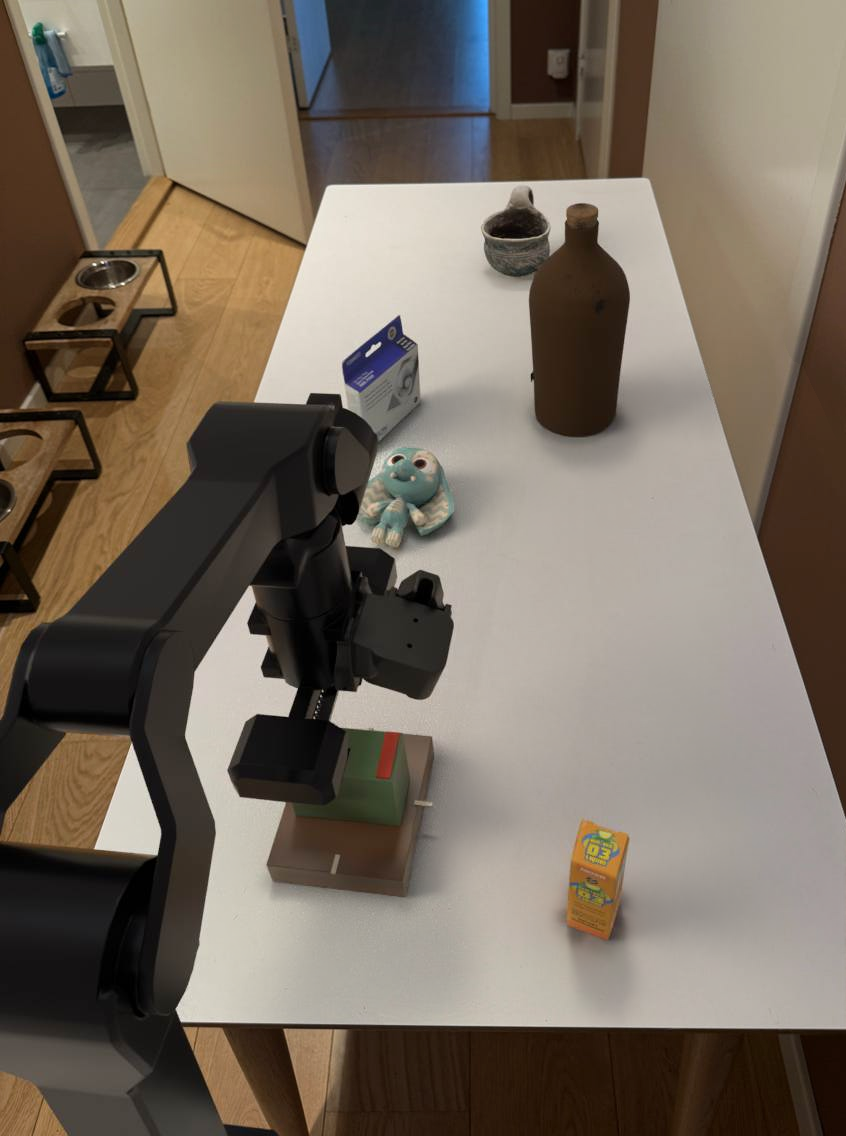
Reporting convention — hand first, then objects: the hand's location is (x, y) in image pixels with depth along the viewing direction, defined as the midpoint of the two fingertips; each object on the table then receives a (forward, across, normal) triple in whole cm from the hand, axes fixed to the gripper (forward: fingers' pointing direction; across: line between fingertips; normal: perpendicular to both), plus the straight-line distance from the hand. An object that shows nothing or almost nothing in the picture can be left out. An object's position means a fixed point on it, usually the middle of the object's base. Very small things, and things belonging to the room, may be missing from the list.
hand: (339, 737), depth 67 cm
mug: (+11, +88, -3) cm, 89 cm away
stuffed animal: (+11, +34, +3) cm, 36 cm away
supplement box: (+11, -6, -18) cm, 22 cm away
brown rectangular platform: (+11, 0, 0) cm, 11 cm away
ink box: (+11, +49, +8) cm, 51 cm away
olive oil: (+11, +53, -13) cm, 56 cm away
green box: (+8, 0, 0) cm, 8 cm away
